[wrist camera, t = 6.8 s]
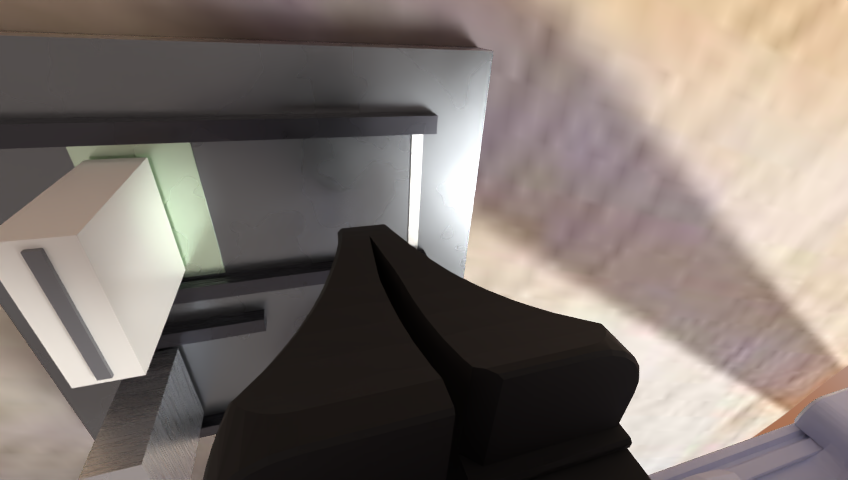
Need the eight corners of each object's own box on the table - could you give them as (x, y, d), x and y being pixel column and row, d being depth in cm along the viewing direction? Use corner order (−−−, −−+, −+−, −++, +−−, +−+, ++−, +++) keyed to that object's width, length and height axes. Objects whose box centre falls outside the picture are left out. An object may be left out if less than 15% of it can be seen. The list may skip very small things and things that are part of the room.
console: (443, 358, 22) (487, 459, 17) (113, 427, 17) (47, 590, 12) (478, 47, 13) (584, 72, 9) (-138, 26, 9) (-626, 53, 4)
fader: (185, 270, 13) (144, 378, 9) (134, 276, 13) (69, 391, 9) (146, 156, 11) (74, 237, 7) (84, 160, 10) (-28, 246, 7)
